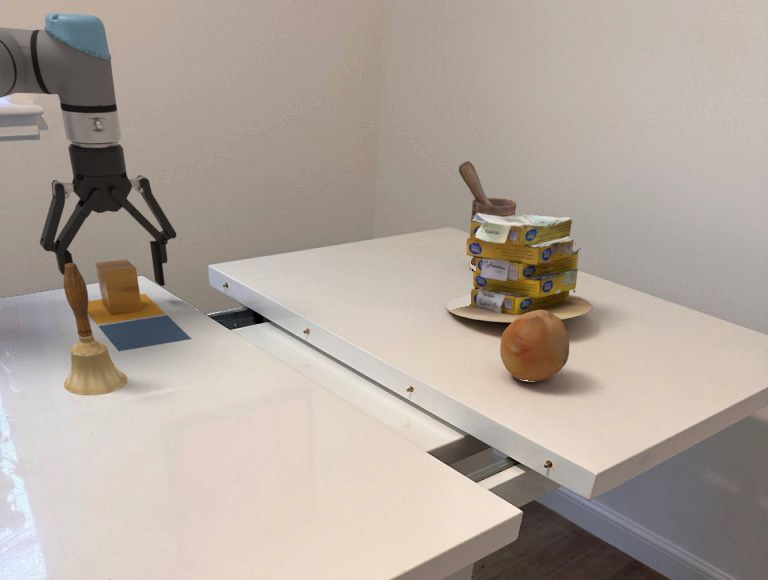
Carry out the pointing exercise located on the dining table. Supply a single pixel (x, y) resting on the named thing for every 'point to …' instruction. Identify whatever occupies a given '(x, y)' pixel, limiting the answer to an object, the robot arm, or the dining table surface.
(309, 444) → the dining table surface
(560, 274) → the stacked boxes on plate
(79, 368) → the hand bell
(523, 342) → the onion
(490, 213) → the mortar and pestle
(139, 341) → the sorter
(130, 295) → the block
